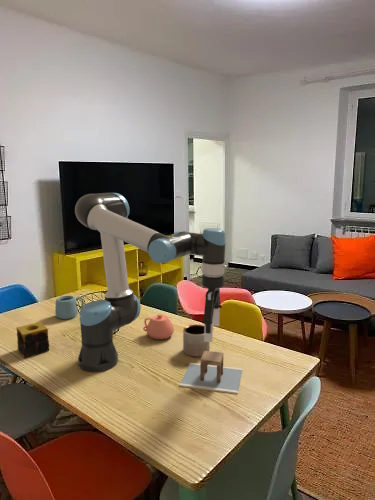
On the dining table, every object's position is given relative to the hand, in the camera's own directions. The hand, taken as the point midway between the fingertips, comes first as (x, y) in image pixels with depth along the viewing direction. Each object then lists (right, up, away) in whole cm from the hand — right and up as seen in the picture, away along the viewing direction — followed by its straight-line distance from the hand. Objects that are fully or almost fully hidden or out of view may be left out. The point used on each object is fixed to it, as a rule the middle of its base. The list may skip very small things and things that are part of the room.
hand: (211, 333), depth 132 cm
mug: (-69, -5, +63) cm, 94 cm away
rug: (0, -17, +3) cm, 17 cm away
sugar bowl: (-22, -10, +39) cm, 46 cm away
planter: (-5, -13, +24) cm, 27 cm away
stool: (0, -16, +3) cm, 17 cm away
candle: (-73, -13, +25) cm, 78 cm away
